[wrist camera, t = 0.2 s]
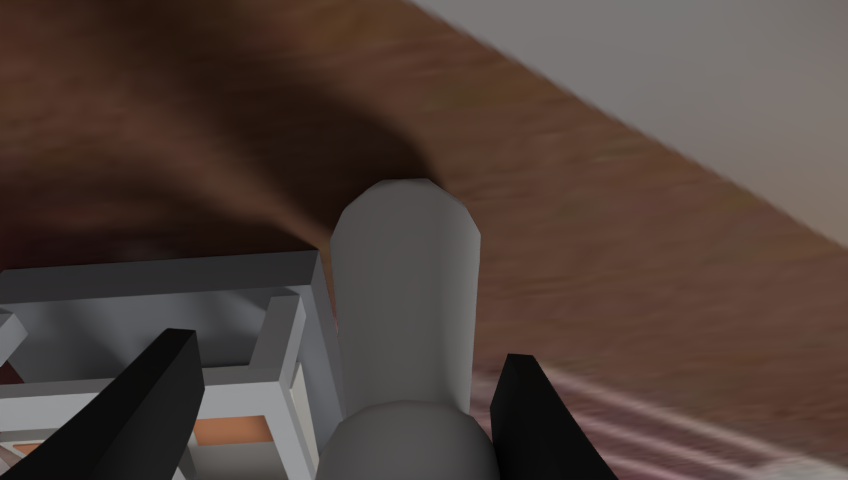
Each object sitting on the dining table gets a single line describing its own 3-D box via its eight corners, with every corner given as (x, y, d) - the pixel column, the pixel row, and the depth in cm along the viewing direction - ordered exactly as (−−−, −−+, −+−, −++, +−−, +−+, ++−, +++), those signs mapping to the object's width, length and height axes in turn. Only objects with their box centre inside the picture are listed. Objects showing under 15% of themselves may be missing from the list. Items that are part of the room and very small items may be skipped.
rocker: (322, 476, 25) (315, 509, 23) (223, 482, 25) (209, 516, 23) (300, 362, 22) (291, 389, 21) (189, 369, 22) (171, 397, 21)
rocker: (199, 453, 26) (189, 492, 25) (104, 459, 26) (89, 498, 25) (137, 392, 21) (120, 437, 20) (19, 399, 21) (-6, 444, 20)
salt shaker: (312, 230, 22) (222, 561, 11) (387, 128, 19) (366, 430, 8) (421, 290, 24) (433, 616, 13) (502, 205, 21) (599, 525, 11)
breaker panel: (361, 447, 31) (352, 570, 25) (135, 461, 31) (75, 587, 25) (318, 249, 22) (290, 370, 17) (4, 269, 22) (-130, 397, 17)
